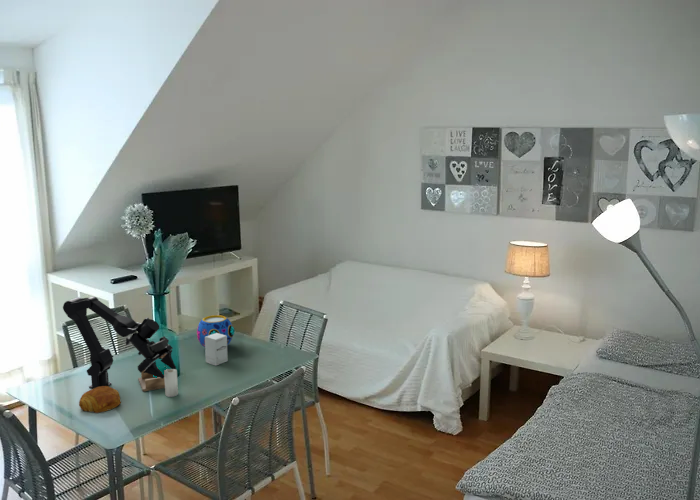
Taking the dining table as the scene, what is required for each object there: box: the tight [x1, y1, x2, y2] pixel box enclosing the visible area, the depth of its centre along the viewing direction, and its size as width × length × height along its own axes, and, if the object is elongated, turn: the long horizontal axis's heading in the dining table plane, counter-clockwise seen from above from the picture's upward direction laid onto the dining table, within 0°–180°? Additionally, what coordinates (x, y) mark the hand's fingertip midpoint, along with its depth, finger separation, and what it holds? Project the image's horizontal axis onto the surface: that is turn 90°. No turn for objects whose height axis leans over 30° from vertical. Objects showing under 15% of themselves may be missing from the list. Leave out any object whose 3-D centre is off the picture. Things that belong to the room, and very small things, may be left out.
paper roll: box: [164, 368, 179, 398], centre depth 257 cm, size 5×5×10 cm
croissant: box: [78, 385, 122, 414], centre depth 247 cm, size 14×16×8 cm
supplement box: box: [204, 333, 229, 367], centre depth 291 cm, size 7×7×13 cm
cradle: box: [137, 368, 168, 392], centre depth 268 cm, size 12×13×4 cm
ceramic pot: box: [196, 314, 235, 348], centre depth 309 cm, size 18×18×15 cm
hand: (169, 373), depth 256 cm, fingers open, 9 cm apart
